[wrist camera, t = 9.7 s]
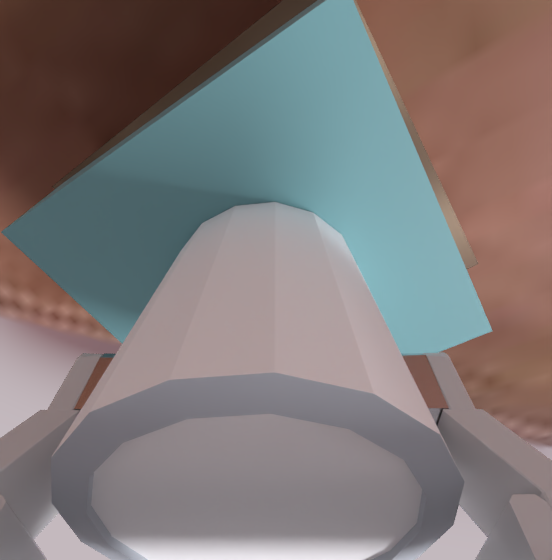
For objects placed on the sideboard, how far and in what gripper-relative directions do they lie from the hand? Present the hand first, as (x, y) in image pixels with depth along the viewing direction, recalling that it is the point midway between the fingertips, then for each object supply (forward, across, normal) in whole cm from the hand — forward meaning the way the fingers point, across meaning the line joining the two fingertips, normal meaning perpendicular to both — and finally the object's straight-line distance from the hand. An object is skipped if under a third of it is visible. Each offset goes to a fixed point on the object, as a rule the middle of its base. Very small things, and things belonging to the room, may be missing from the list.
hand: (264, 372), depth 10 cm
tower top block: (+8, 0, 0) cm, 8 cm away
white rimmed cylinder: (+4, 0, 0) cm, 4 cm away
